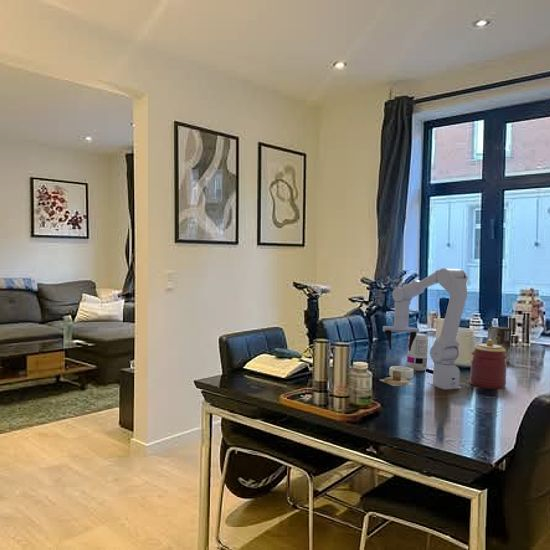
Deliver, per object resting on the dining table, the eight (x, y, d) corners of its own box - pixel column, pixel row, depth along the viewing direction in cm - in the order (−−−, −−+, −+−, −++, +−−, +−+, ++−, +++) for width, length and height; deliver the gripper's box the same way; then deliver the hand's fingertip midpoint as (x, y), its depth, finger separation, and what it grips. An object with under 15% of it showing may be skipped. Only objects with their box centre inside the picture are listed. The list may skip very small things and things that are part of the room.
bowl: (417, 379, 207) (418, 370, 207) (398, 380, 203) (399, 371, 203) (403, 374, 215) (404, 365, 215) (385, 375, 212) (385, 366, 212)
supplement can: (404, 369, 224) (406, 334, 223) (409, 366, 231) (411, 332, 231) (424, 372, 220) (426, 336, 220) (428, 368, 227) (430, 334, 227)
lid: (413, 384, 196) (414, 373, 196) (393, 385, 193) (394, 374, 193) (399, 378, 205) (399, 368, 205) (379, 379, 201) (380, 369, 201)
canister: (462, 383, 203) (465, 338, 202) (480, 379, 211) (482, 335, 210) (495, 391, 193) (498, 343, 192) (512, 386, 201) (515, 340, 200)
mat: (414, 385, 196) (414, 384, 196) (393, 386, 193) (393, 385, 193) (399, 379, 205) (399, 378, 205) (378, 380, 201) (378, 379, 201)
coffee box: (505, 360, 255) (507, 326, 255) (509, 362, 249) (511, 328, 248) (485, 358, 256) (487, 325, 256) (489, 361, 250) (491, 327, 249)
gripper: (419, 316, 218) (417, 349, 218) (383, 314, 221) (382, 346, 221) (420, 318, 211) (418, 352, 211) (383, 316, 214) (381, 349, 214)
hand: (399, 349), depth 216 cm, fingers open, 7 cm apart
